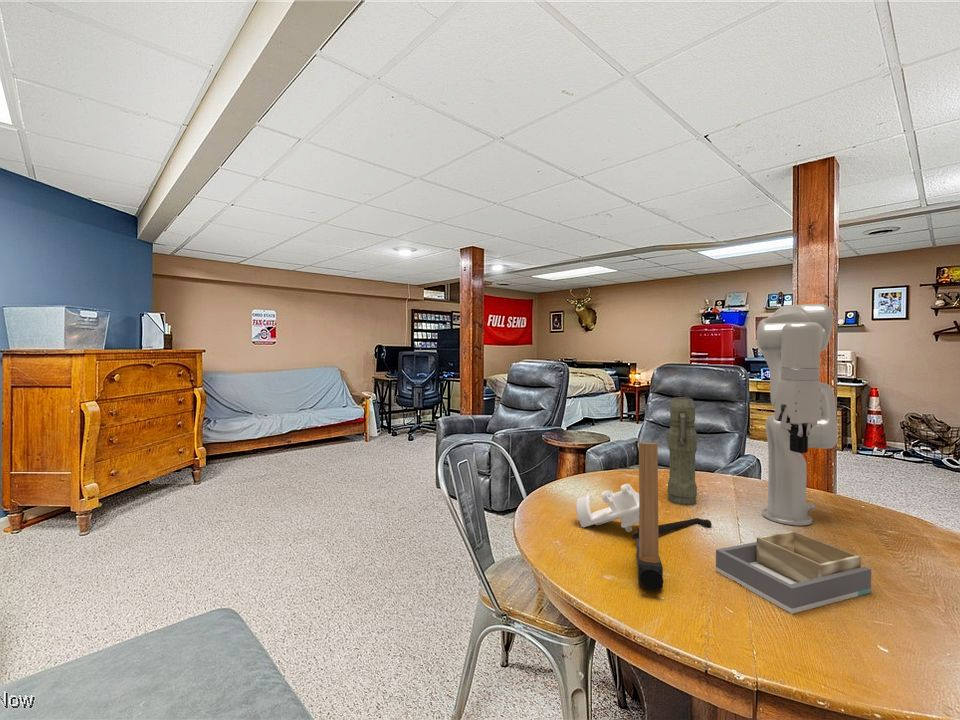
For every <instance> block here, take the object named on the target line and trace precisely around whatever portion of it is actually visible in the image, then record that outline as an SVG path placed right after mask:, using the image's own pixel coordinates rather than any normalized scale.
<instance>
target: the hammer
mask: <svg viewBox="0 0 960 720" xmlns="http://www.w3.org/2000/svg"><path fill="white" fill-rule="evenodd" d="M658 447H659V444H658V443H656V442H643V441H642V442H640V441H639V442H638V493H639V523H638V526H639V539H635V545H636V565H637V577H638V579H637V580H638V585H640V586H643V588H645V589H647V590H648V591H654V592H655V591H658V590H660V589H661V588H662V589H663V588H664V572H663V571H664V570H663V568H664V566H663V564H662V562H661V557H660V554H659V553H660V549H659V548H660V547H659V543H660V541H659V536H658V525H659V460H658V459H659V454H658V452H659V451H658V450H659V449H658Z"/></svg>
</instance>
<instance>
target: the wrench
mask: <svg viewBox="0 0 960 720" xmlns="http://www.w3.org/2000/svg"><path fill="white" fill-rule="evenodd" d="M693 525H700V526H703V527H704V528H707V529H709V528H711V527H712V521H711V520H709V519H703V518H697V517H695V518H691V519H687V520H680V521H675V522H669V523H663V524H658V537H659V536H662V535H665V534H668V533H671V532H673V531H677V530H681V529H683V528H687V527H691V526H693ZM631 538H632V540H636V539H639V525H638V527H637V530H636V532H634V533H633V534H632V535H631Z"/></svg>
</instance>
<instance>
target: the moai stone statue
mask: <svg viewBox="0 0 960 720" xmlns="http://www.w3.org/2000/svg"><path fill="white" fill-rule="evenodd" d="M669 409H670V410H669V411H670V412H669V413H670V414H669V417H670V419H669V420H670V423H669V429H668V432H667V437H668V438H667V441H668V442H667V445H668V447H667V448H668V451H669V478H668V481H667V494H668V498H667V500H668V501H669V503H672V504H674V505H679V506H694V505H696V504H697V495H698V486H697V483H696V453H697V451H698V434H697V430H696V425H695V422H696V406H695V402H694V399H693V398H691V397H689V396H676V397H673V398H672V400H671V403H670V408H669Z"/></svg>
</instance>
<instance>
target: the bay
mask: <svg viewBox="0 0 960 720" xmlns="http://www.w3.org/2000/svg"><path fill="white" fill-rule="evenodd" d="M756 558H757V541H754V542H749V543H743V544H739V545H738V544H737V545H733V546H728V547H723V548H718V549H715V572H717V571H718V572H720V573H721V575H722V574H723V575H722V576H724V577H726V578H727V577H728V579H729V578H730V579H729V580H731V579H732V581H733V580H734V581H736V582H737V583H736V582H735V583H736V584H738V583H739V584H738V585H740V584H741V585H742V586H741V585H740V586H741V587H743V586H744V587H743V588H745V589H747V590H749V591H750V592H752V593H754V594H756V595H758V596H759V597H761V598H763V599H765V600H766V601H767V602H770V603H771V604H773V605H775V606H777V607H779V608H781V609H783V610H784V611H786V612H787V613H789V614H791V615H793V614H797V613H801V612H804V611H808V610H812V609H814V608H819V607H823V606H827V605H830V604H834V603H839V602H841V601H844V600H845V599H846V600H848V599H853V598H856V597H860V596H864V595H868V594H871V593H872V568H870V567H866V566H863V567H862V566H861V568H857V569H853V570H848V571H844V572H840V573H836V574H832V575H828V576H823V577H819V578H815V579H811V580H807V581H802V582H797V581H795V580H793V579H791V578H789V577H787V576H785V575H783V574H781V573H779V572H777V571H775V570H773V569H771V568H769V567H767V566H765V565H762V564H760V563H758V562H756ZM718 572H717V573H718ZM720 573H719V574H720ZM734 581H733V582H734ZM867 593H868V594H867ZM863 594H864V595H863Z"/></svg>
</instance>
